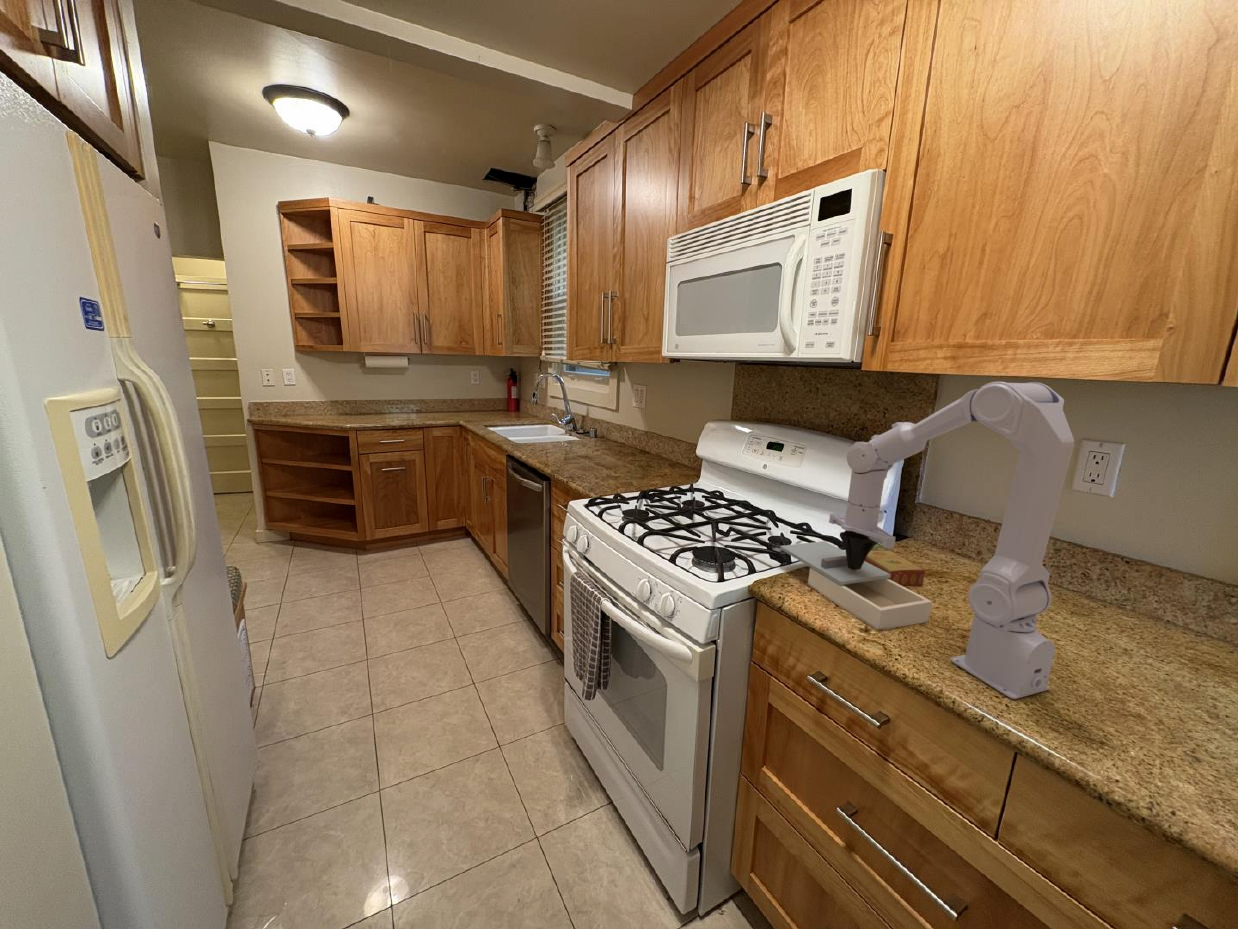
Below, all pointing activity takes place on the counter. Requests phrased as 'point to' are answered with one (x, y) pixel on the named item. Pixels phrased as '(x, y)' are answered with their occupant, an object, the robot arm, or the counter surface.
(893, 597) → the base
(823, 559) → the lid
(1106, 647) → the counter surface
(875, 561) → the carton
